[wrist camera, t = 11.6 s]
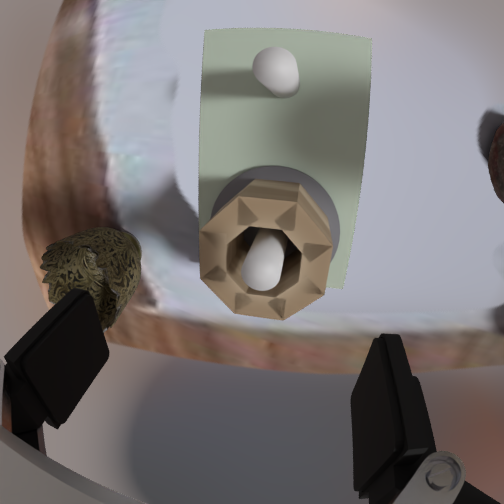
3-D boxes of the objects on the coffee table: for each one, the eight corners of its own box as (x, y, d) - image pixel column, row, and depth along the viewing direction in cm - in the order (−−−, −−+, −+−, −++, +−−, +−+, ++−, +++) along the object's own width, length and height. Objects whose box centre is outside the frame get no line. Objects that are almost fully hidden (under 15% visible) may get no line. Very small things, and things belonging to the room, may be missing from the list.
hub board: (211, 35, 18) (163, -1, 10) (367, 44, 16) (397, 5, 9) (205, 268, 25) (167, 325, 18) (340, 285, 24) (348, 352, 16)
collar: (224, 176, 20) (199, 193, 15) (331, 186, 19) (339, 207, 14) (222, 270, 23) (201, 308, 18) (317, 282, 22) (318, 324, 17)
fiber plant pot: (87, 252, 27) (34, 292, 20) (111, 191, 24) (47, 221, 17) (145, 298, 28) (101, 350, 21) (178, 241, 25) (129, 290, 17)
